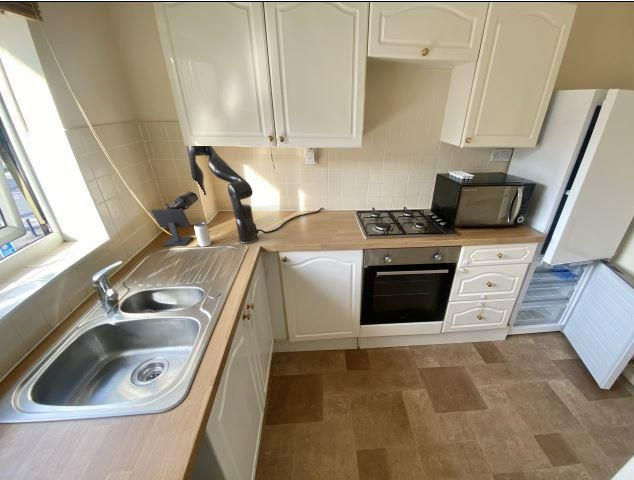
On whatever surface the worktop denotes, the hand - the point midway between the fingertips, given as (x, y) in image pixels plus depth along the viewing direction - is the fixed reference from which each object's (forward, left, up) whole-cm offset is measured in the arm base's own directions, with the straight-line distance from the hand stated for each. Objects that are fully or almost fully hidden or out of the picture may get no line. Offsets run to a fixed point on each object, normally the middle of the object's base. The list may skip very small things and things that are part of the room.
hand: (168, 211), depth 150 cm
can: (-9, +14, -18) cm, 25 cm away
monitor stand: (-1, -1, -18) cm, 18 cm away
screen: (-1, -1, -9) cm, 9 cm away
